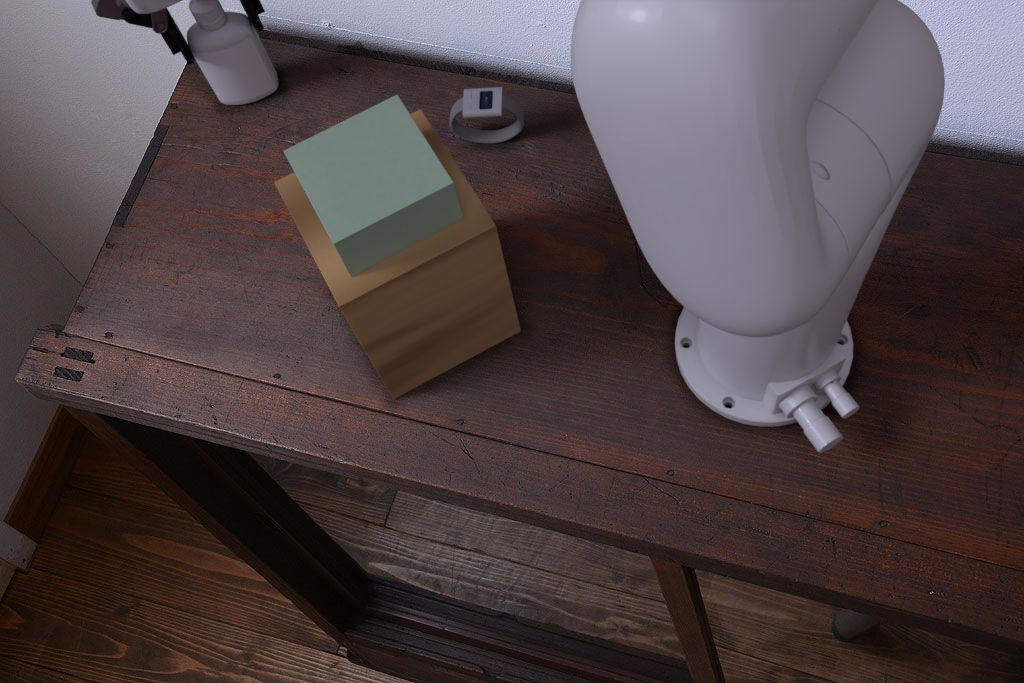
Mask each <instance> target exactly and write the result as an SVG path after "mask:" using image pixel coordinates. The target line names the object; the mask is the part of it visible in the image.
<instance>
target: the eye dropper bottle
mask: <svg viewBox="0 0 1024 683" xmlns="http://www.w3.org/2000/svg"><path fill="white" fill-rule="evenodd" d="M188 9H189V11H190V13H191V15H192V16H193V19H194V20H195V22H194V23H193V24H192V25H191V26H190V27H189V28H188V29H187V32H186V42H187V44H188V46H189V48H190V50H191V52H192V54H193V56H194V58H195V62H196V64H197V65H198V67H199V69H200V70H201V72H202V74H203V76H204V77H205V79H206V81H207V82H208V84H209V85H210V88H211V90H212V91H213V92H214V94H215V96H216V97H217V99H218V101H219V102H220V103H221V104H223V105H225V106H240V105H247V104H251V103H256V102H258V101H261V100H263V99H265V98H266V97H269V96H270V95H272V94H274V93H275V92H276V91H277V90H278V88H279V78H278V72H277V70H276V68H275V66H274V64H273V62H272V60H271V58H270V56H269V54H268V51H267V50H266V47H265V46H264V43H263V41H262V40H261V37H260V36H259V34H258V31H256V30H255V28H254V26H253V25H252V23H251V21H250V19H249V17H248V16H247V14H244V13H242V12H236V11H225V9H224V8H223V6H222V3H221V2H220V0H189V3H188Z"/></svg>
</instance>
